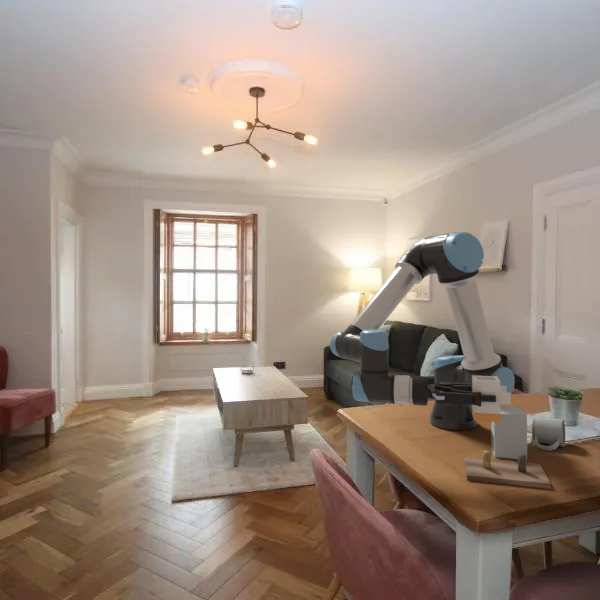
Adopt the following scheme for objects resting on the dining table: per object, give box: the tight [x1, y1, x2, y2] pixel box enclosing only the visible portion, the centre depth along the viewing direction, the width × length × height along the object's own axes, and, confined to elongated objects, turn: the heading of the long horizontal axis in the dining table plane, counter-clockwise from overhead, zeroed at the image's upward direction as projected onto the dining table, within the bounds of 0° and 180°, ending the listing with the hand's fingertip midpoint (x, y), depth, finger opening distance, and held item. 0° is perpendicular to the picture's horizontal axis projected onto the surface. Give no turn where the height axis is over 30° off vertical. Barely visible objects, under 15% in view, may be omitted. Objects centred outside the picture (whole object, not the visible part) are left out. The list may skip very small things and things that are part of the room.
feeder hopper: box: [490, 405, 528, 461], centre depth 122 cm, size 8×8×12 cm
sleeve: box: [472, 375, 501, 423], centre depth 110 cm, size 6×6×10 cm
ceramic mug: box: [531, 417, 567, 452], centre depth 128 cm, size 11×8×8 cm
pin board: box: [463, 450, 552, 490], centre depth 109 cm, size 12×18×5 cm, turn 72°
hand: (508, 395), depth 108 cm, fingers closed on sleeve, 6 cm apart
